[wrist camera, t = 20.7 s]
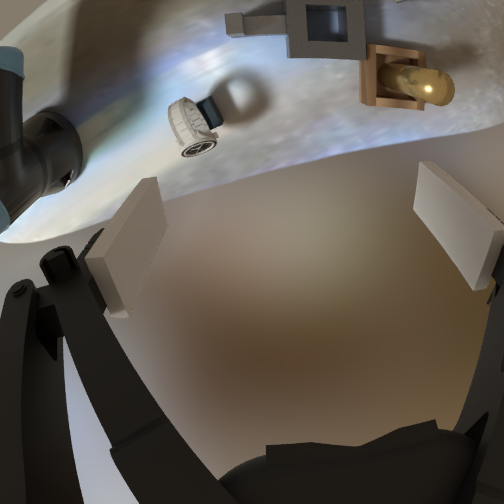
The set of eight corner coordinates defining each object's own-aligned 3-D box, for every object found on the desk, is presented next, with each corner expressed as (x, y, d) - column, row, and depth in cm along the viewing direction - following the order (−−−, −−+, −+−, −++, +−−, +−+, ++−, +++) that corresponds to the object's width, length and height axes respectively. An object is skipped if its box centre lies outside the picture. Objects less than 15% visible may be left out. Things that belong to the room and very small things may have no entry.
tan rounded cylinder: (377, 87, 39) (423, 103, 27) (377, 61, 37) (424, 67, 25) (401, 89, 39) (453, 108, 27) (401, 64, 37) (455, 73, 24)
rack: (359, 101, 42) (367, 105, 38) (358, 44, 36) (367, 43, 33) (413, 105, 41) (424, 110, 38) (413, 51, 36) (425, 52, 33)
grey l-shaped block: (232, 38, 37) (226, 34, 31) (230, 20, 36) (224, 14, 30) (303, 34, 36) (310, 31, 31) (302, 17, 35) (309, 10, 29)
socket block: (287, 58, 39) (290, 58, 35) (282, -5, 33) (284, -12, 29) (356, 59, 38) (366, 60, 34) (352, -2, 32) (362, -8, 28)
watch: (197, 146, 47) (180, 171, 38) (173, 102, 43) (149, 116, 34) (230, 131, 45) (221, 152, 36) (206, 85, 41) (190, 93, 32)
